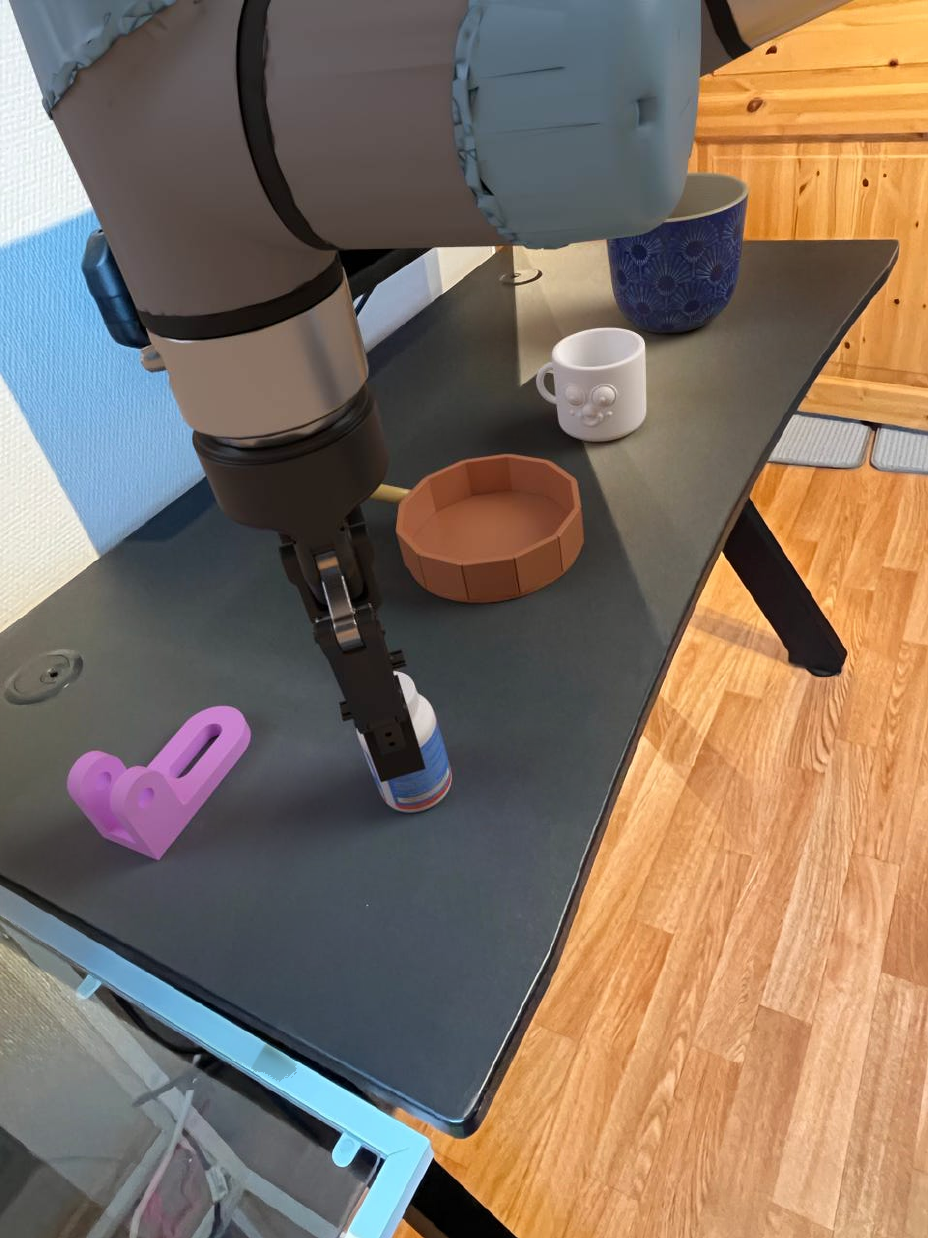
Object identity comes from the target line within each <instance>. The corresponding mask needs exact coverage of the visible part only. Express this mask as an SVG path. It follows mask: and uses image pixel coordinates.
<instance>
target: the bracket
mask: <svg viewBox="0 0 928 1238" xmlns="http://www.w3.org/2000/svg"><path fill="white" fill-rule="evenodd" d="M216 736H218V737H217V738H216V739H215V740H214V741H213V742H212V744H211V745H210V746H209V747H208V748H207V750H206V751H205V753H204V754H203V755H202V756H201V757H200V758H199V760H197V762H196V763H195V764H194V765H193V767H192V768H191V769H190V770H189V771H188V773H187V774H185V775H183V776H180V775H181V774H182V773H183V772H184V770H185V769H186V768H187V767H188V766H189V765H190V763H191V762H192V761H193V760H194V758H195V757H196V756H197V755H198V754H199V752H200V751H201V750H202V749H203V748H204V746H205V745H206V744H207V743H208V742H209V741H210V740H211V739H212V738H214V737H216ZM251 737H252V733H251V728H250V726H249V724H248V722H247V721H246V719H245V716H244V715H243V713H242V712H241V711H240V710H238V709H237V708H235V707H233V706H230V705H229V706H228V705H216V706H211V707H209V708H205V709H204V710H201V711H198V712H197V713H196V714H194V715H193V716H191V717H190V718H188V720H186V722H185V723H184V724H183V725H182V726H181V727H180V728H179V730H178V731H177V732H176V733H175V734H174V735H173V736H172V738H171V739H170V740H169V741H168V742H167V743H166V744H165V746H163V748H162V749H161V750H160V751H159V753H157V755H156V756H155V757H154V758H153V760H152V761H151V762H150V763H149V764H148V765H147V766H146V767H145V766H142V765H134V766H131V767H129V768H128V769H127V767H126V766H125V764H124V763H123V762H122V760H121V759H120V758H119V757H117V756H115V755H112V754H109V753H107V752H103V751H101V750H91V751H88V752H86V753H85V754H82V755H81V756H80V757H79V758H78V759H77V760H76V761H75V763H73V765H72V767H71V768H70V770H69V773H68V776H67V780H66V781H67V782H66V788H67V792H68V794H69V796H70V798H71V799H72V800H73V801H74V803H75V804H76V805H77V806H78V808H79V809H80V810H81V811H82V813H83V814H84V815H85V817H87V819H88V820H89V821H90V822H91V824H92V825H93V827H95V829H96V830H97V831H98V832H99V834H100V835H101V836H102V837H103V838H104V839H106V840H109V841H111V842H113V843H116V844H118V845H120V846H123V847H125V848H127V849H129V850H132V851H134V852H137V853H140V854H142V855H145V856H147V857H149V858H151V859H154V860H155V861H160V860H161V859H162V857H163V856H164V854H165V853H166V852H167V850H168V849H169V848H170V847H171V846H172V844H173V843H174V842H175V841H176V839H177V838H178V837H179V835H180V834H181V833H182V832H183V830H184V829H185V828H186V827H187V825H188V824H189V823H190V821H192V819H193V817H194V816H195V815H196V814H197V813H198V812H199V810H200V809H201V808H202V806H203V805H204V804H205V803H206V801H207V800H208V798H210V796H211V795H212V793H214V791H215V790H216V789H217V787H218V786H219V785H220V784H221V782H222V781H223V780H224V778H225V777H226V776H227V774H228V773H229V772H230V771H231V770H232V768H233V767H234V766H235V764H236V763H237V762H238V760H240V758H241V757H242V755H244V753H245V752H246V750H247V748H248V747H249V744H250V742H251ZM179 776H180V777H179Z"/></svg>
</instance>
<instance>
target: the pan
mask: <svg viewBox="0 0 928 1238" xmlns="http://www.w3.org/2000/svg"><path fill="white" fill-rule="evenodd" d="M368 499H373V500H377V501H381V502H387V503H391V504H396V505H398V510H397V517H396V525H395V533H396V537H397V541H398V544H399V548H400V551H401V556H402V559H403V563H404V566H405V567H406V569H408V570H409V572H410V574H411V576H412V577H413V579H414V580H415V581H416V582H417V583H418V584H419V585H420V586H421V587H422V588H424V589H425V590H427V591H428V592H429V593H432V594H434V595H436V596H438V597H441V598H444V599H447V600H451V601H455V602H460V603H471V604H473V603H474V604H485V603H497V602H503V601H510V600H514V599H517V598H521V597H524V596H526V595H530V594H532V593H535V592H537V591H539V590H541V589H543V588H545V587H547V586H548V585H551V584H552V583H553V582H555V581H556V580H558V579H559V578H560V577H562V576H563V575H564V574H565V573H566V572H567V571H569V569H570V568H571V567H572V565H573V564H574V563H575V562H576V560H577V558H578V557H579V554H580V552H581V549H582V547H583V545H584V542H585V536H584V535H585V533H584V524H583V511H582V505H581V497H580V490H579V485H578V480H577V478H576V477H574V476H573V475H571V474H569V473H568V472H567V471H565V470H564V469H563V468H561V467H560V466H558V465H557V464H555V463H554V462H553V461H552V460H549V459H543V458H537V457H531V456H525V455H520V454H514V453H509V454H508V453H502V454H496V455H489V456H482V457H473V458H466V459H462V460H460V461H458V462H455V463H454V464H451V465H449V466H447V467H444V468H442V469H440V470H437V471H435V472H433V473H431V474H428V475H426V476H424V477H423V478H422V479H421V480H420V481H419V482H418V483H417V484H416V485H415V486H414V487H413V488H412V489H408V488H402V487H398V486H393V485H388V484H383V483H381V485H380V486H379V487H378V489H377V490H376V491H375V492H374V493H373V494H372V495H371V496H370V497H369V498H368Z"/></svg>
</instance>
